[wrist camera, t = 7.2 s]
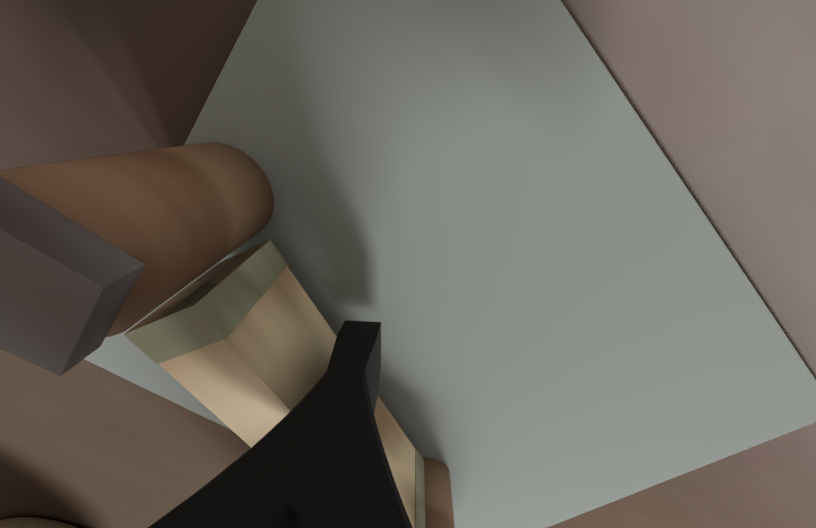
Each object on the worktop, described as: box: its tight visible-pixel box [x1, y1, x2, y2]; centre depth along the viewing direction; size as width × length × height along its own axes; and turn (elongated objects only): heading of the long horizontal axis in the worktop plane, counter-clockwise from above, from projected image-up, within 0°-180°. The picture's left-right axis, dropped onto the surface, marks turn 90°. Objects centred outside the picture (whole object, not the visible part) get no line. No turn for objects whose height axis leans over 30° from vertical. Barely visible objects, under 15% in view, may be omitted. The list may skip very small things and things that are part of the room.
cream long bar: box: [123, 240, 425, 528], centre depth 11 cm, size 13×2×4 cm, turn 24°
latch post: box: [0, 142, 274, 376], centre depth 7 cm, size 3×3×6 cm
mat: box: [84, 0, 816, 528], centre depth 13 cm, size 21×27×1 cm
